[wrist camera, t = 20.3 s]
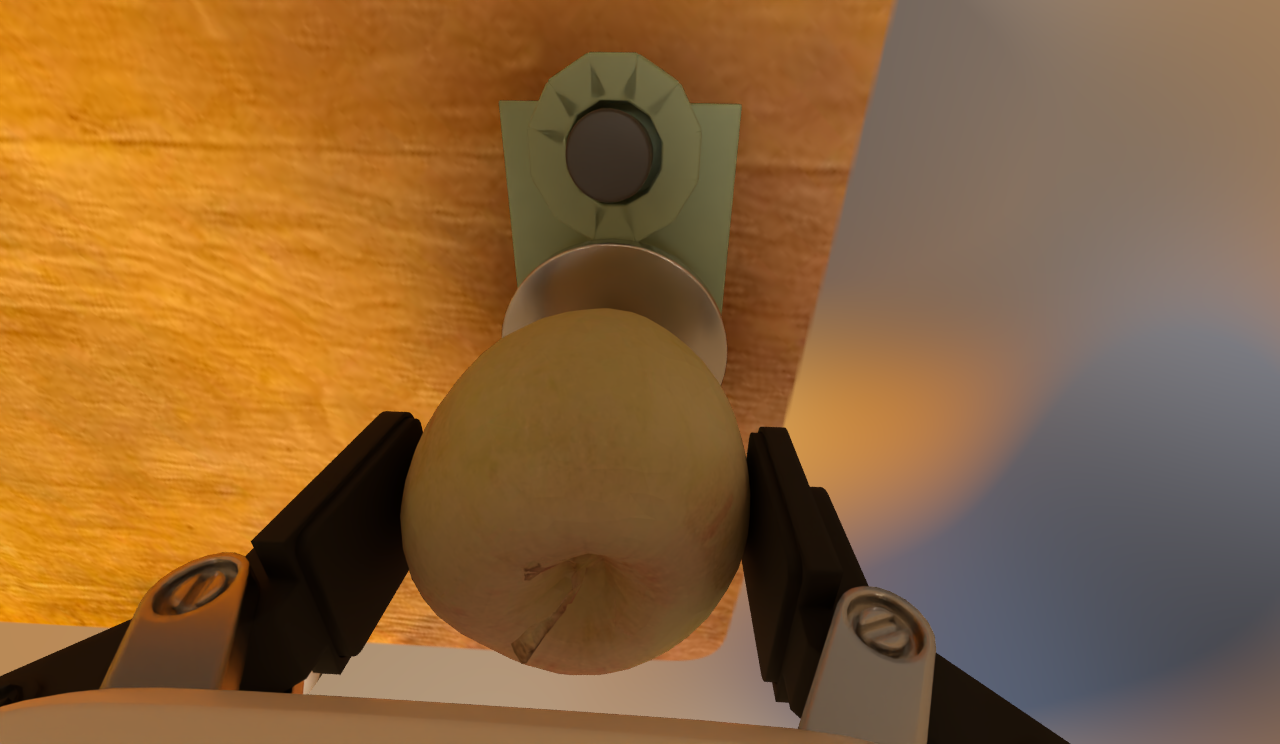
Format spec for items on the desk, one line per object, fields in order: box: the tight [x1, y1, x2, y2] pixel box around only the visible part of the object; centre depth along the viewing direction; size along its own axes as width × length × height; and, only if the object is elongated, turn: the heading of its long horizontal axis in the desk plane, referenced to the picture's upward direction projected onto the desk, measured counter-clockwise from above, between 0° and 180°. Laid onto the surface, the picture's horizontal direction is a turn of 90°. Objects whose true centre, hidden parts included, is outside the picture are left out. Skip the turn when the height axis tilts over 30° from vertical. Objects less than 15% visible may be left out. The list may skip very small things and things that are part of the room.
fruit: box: [400, 308, 751, 675], centre depth 11 cm, size 8×7×8 cm
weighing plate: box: [501, 238, 727, 386], centre depth 17 cm, size 8×8×1 cm
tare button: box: [565, 108, 653, 203], centre depth 14 cm, size 2×2×2 cm
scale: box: [499, 52, 742, 316], centre depth 19 cm, size 8×17×4 cm, turn 179°
